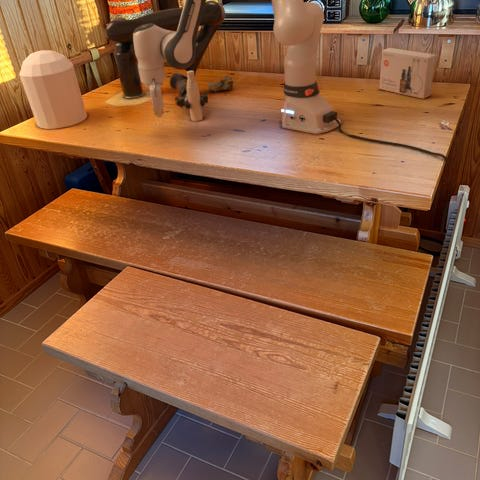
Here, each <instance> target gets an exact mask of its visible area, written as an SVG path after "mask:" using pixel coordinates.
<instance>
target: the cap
mask: <svg viewBox="0 0 480 480" xmlns="http://www.w3.org/2000/svg"><path fill="white" fill-rule="evenodd" d="M164 109H165V108H164ZM164 109H162V115H164V114H165V110H164ZM152 113H153V115H154V116H156V117H157V112H156V110H154V109H153V108H152Z"/></svg>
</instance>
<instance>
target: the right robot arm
mask: <svg viewBox="0 0 480 480" xmlns="http://www.w3.org/2000/svg"><path fill="white" fill-rule="evenodd" d="M205 2H207V0H183V7H182V8H183V11H182V14H181V18H180V22H179V25H178V29H177V32H175V31H169V30H165V29H162V28H160V27H158V26H156V25H155V24H152V23H149V24H144V25H141V26H139V27H138V28H136V29H135V31H134V33H133V42H134V49H135V55H136V59H137V64H138V70H139V75H140V80H141V83H143V85H144V87H145V88H147V89H148V90H149V93H150V100H151V104H152V110H153V109H154V110H156V112H157V116H156V117H157V118H162V117H163V114H162V109H165V106H164V101H163V93H162V88H161V87H162V86H163V85H164V82H165V81H166V80H167V76H166V71H165V70H166V69H165V65H164V63H168V65H169V66H170V67H171V68H173V69H174V70H181V71H182V70H185V69H186V68H188V67H190V66H191V65H192V64H193V62H194V60H195V57H196V37H197V34H198V32H199V30H200V26H201V25H200V22H201V18H202V14H203V11H204V7H205ZM271 4H272V12H273V18H274V21H273V22H274V23H273V30H272V31H273V35H274V38H275V40H276V41H277V43H279V44H280V45H282V46H284V47H287V50H286V54H285V56H284V59H283V67H284V68H283V70H284V82H283V89H282V90H283V94H284V103H283V108H282V109H281V113H282V116H281V120H280V121H281V128H282V129H288V130H292V131H298V132H303V133H309V134H313V135H314V134H315V135H319V134H324V133H328V132H331V131H332V130H335V129H337V128H338V131H339V132H340V133H341V134H343V135H345V136H347V137H349V138H355V139H359V140H364V141H368V142H373V143H374V142H375V143H378V144H379V143H380V144H385V145H393V146H398V147H403V148H408V149H412V150H416V151H419V152H422V153H426V154H428V155H432V156H439V157H441V158H442V159H443V160H444V161H445V163H450V160H449V159H448V157H447V156H446V155H444V154H443V153H440V152H434V151H430V150H427V149H425V148H420V147H418V146H413V145H409V144H405V143H404V144H403V143H400V142H399V143H398V142H393V141H385V140H381V139H376V138H375V139H374V138H368V137H364V136H359V135H355V134H348V133H345V132H344V131H343V130H342V127H341V126H342V125H341V124H342V120H341V119H340V118H338V111H335V110H334V109H335V108H334V106H333V105H332V104H331V103H330V102H329V101H328V100H327V99H326V98H325V97H324V96H323V95H322V94H321V93H320V90H321V89H322V86H323V85H322V84H320V85H319V84H318V81H317V56H318V48H319V43H320V37H321V31H322V27H323V25H324V21H325V13H324V11H323V9H322V7H321V6H320V5H319V4H317V3H315V2H309V1H305V2H304V0H271ZM449 201H450V200H448V201H446V202H445V206H444V211H443V215H442V221H441V225H440V235H443V233H444V228H445V223H446V217H447V213H448V208H449V203H450V202H449Z"/></svg>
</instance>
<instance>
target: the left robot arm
mask: <svg viewBox="0 0 480 480" xmlns="http://www.w3.org/2000/svg"><path fill="white" fill-rule="evenodd" d="M182 11H183V7H177V8H168V9H163V10H158V11H153V12H150V13H147V14H144V15H142V16H139V17H136V18H132V19H127V18H125V17H122V16H121V17H116V18H114V19H112V20H111V21H109V22H108V24H107V25H106V28H105V33H106V37H107V38H108V39H109V40H110V41H111V42H113V43H114V52H113V53H114V54H113V55H114V59H115V64H116V67H117V77H119V83H120V87H121V91H122V96H123V98H124V99H127V100H128V99H129V100H131V99H137V98H138V99H139V98H141V97H143V96H144V90H143V85H144V84H143V83H141V80H140V75H139V70H138V59H137V57H136V55H135V49H134V42H133V33H134V31H135V29H136V28H138V27H139V26H141V25H144V24H149V23H152V24H155V25H156V26H158V27H160V28H162V29H165V30H169V31H175V32H177V29H178V25H179V22H180V18H181V14H182ZM225 19H226V10H225V7H224V6H223V5H222V4H221V3H219V2H218V1H215V0H209V1H206V2H205V7H204V11H203V14H202V18H201V22H200V25H199V26H200V27H199V29H198V33H197V37H196V57H195V60H194V62H193V64H192V65H191V66H190V67H188V68H186V69H184V71H186V72H187V71H194V77H195V78H196V75H197V70H198V68H199V66H200V64H201V63H202V60H203V58H204V56H205V53H206V51H207V48H208V47H209V45H210V43H211V41H212V39H213V37H214V35H215V34H216V32H217V31H218V29H219V28H220V27H221V25H222V23H223V22H224V21H225ZM187 80H188V77H187V75H185V74H182V73H180V72H173V73H172V74H171V76H170V77H169V86H170V87H171V89H173V90H174V91H175V92H176V93H178V95H179V96H177V97H174V103H175V105H176V106H178V107H179V108H183V107H185V109H187V110H189V109H190V104H189V102H188V97H187V90H186V86H187ZM200 100H201V107H202V108H204V107H205V106H206V104H209V94H208V92H207V91H206V92H204V93H203V94H202V93H200Z"/></svg>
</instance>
